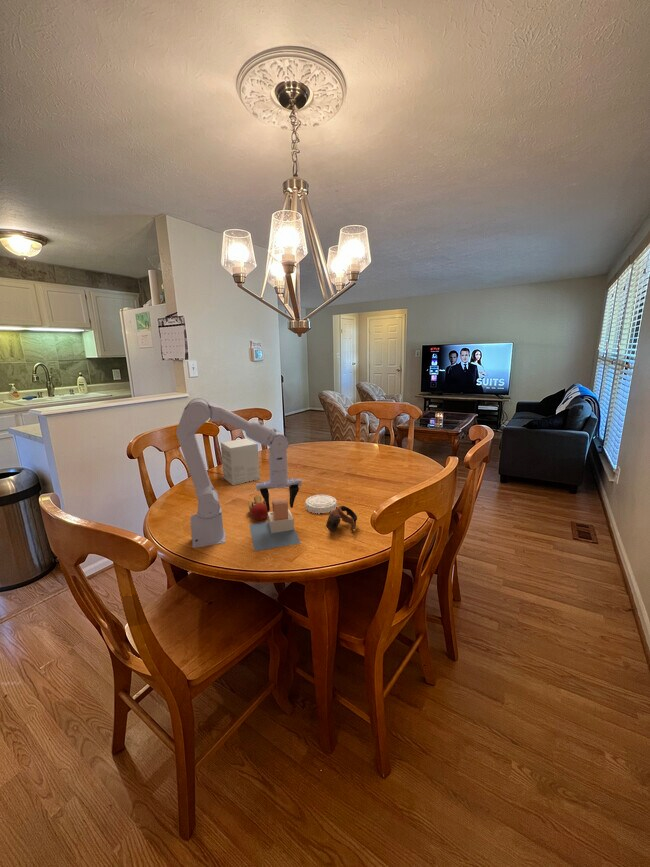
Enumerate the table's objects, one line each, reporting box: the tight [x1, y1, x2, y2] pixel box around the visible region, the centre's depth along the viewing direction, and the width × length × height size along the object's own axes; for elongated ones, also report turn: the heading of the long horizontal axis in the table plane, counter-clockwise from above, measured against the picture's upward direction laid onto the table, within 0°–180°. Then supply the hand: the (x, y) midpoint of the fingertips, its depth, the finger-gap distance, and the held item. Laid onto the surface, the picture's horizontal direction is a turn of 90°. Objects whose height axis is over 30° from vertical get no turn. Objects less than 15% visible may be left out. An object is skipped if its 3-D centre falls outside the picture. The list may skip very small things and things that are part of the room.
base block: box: [267, 508, 295, 533], centre depth 113 cm, size 8×8×4 cm
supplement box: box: [220, 437, 261, 486], centre depth 157 cm, size 13×13×18 cm
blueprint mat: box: [249, 521, 301, 552], centre depth 109 cm, size 14×17×1 cm
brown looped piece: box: [325, 505, 358, 532], centre depth 111 cm, size 12×10×8 cm
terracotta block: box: [271, 497, 289, 521], centre depth 112 cm, size 4×4×6 cm
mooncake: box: [304, 494, 338, 515], centre depth 127 cm, size 12×12×4 cm
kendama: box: [248, 494, 270, 521], centre depth 124 cm, size 8×6×18 cm
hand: (279, 508), depth 112 cm, fingers open, 7 cm apart
